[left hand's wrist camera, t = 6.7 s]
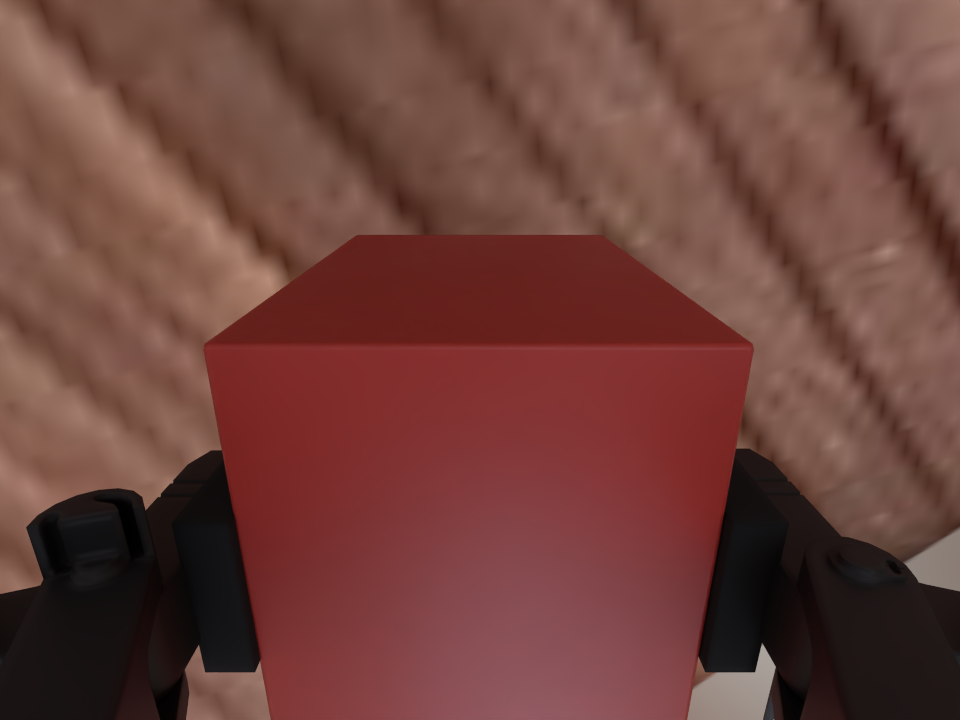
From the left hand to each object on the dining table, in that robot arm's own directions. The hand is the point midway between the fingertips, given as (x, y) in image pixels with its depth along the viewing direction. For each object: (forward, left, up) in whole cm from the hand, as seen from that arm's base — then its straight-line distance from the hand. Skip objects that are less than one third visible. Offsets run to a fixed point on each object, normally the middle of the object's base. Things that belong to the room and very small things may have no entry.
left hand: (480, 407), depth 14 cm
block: (0, 0, -3) cm, 3 cm away
